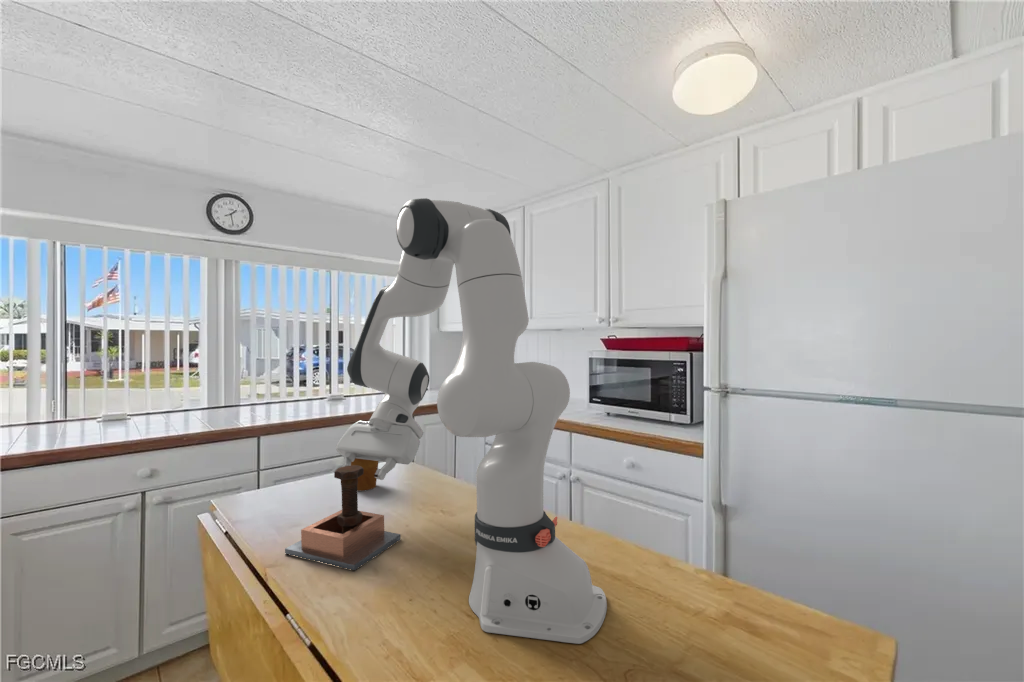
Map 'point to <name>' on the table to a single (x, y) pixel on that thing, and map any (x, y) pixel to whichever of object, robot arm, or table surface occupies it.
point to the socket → (344, 541)
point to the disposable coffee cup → (366, 474)
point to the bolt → (349, 496)
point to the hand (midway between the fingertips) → (361, 476)
